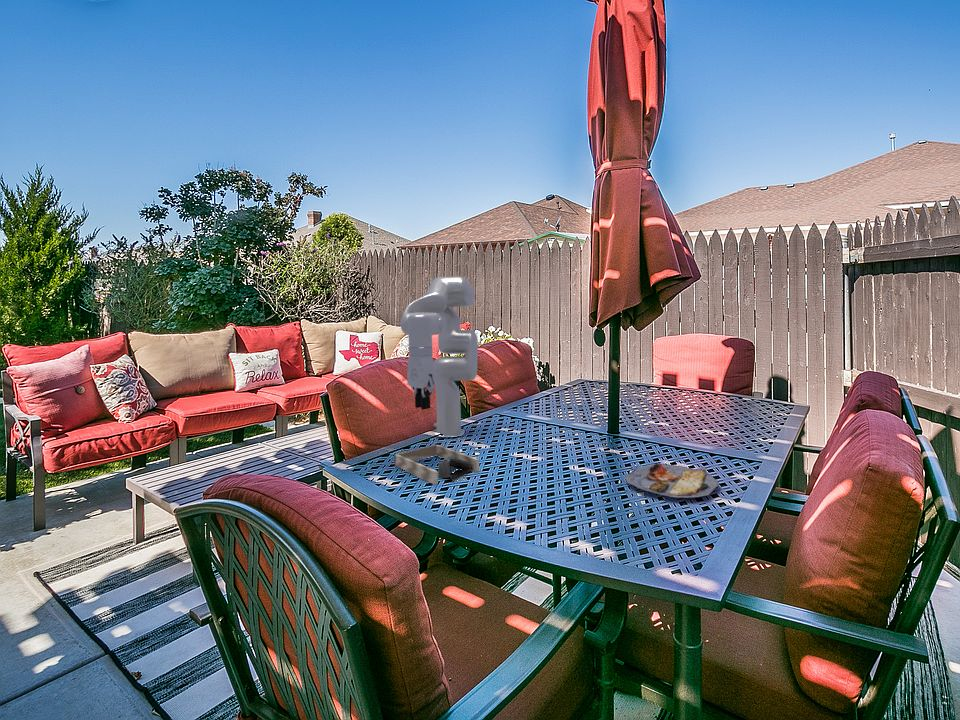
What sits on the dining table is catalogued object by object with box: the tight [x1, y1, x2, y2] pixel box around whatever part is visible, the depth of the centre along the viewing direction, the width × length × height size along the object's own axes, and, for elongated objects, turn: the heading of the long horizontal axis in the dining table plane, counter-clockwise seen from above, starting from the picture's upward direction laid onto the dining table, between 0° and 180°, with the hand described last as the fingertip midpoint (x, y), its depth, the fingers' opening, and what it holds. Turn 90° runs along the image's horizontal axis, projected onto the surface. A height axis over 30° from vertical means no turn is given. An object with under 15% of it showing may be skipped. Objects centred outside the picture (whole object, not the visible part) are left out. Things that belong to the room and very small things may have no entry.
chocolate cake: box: [437, 457, 475, 483], centre depth 158 cm, size 10×7×12 cm
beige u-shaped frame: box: [393, 444, 480, 486], centre depth 164 cm, size 23×17×4 cm
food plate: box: [625, 462, 720, 500], centre depth 145 cm, size 25×23×4 cm
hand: (422, 407), depth 167 cm, fingers open, 2 cm apart
